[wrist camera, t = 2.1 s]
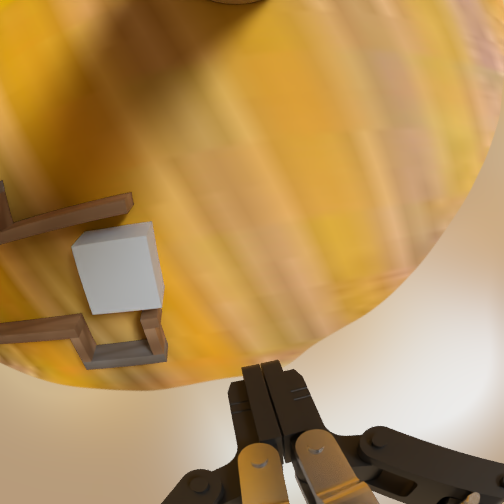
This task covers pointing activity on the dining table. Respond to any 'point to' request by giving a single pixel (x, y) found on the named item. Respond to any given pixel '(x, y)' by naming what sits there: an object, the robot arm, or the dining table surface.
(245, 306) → the dining table surface
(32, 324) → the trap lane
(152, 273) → the block
